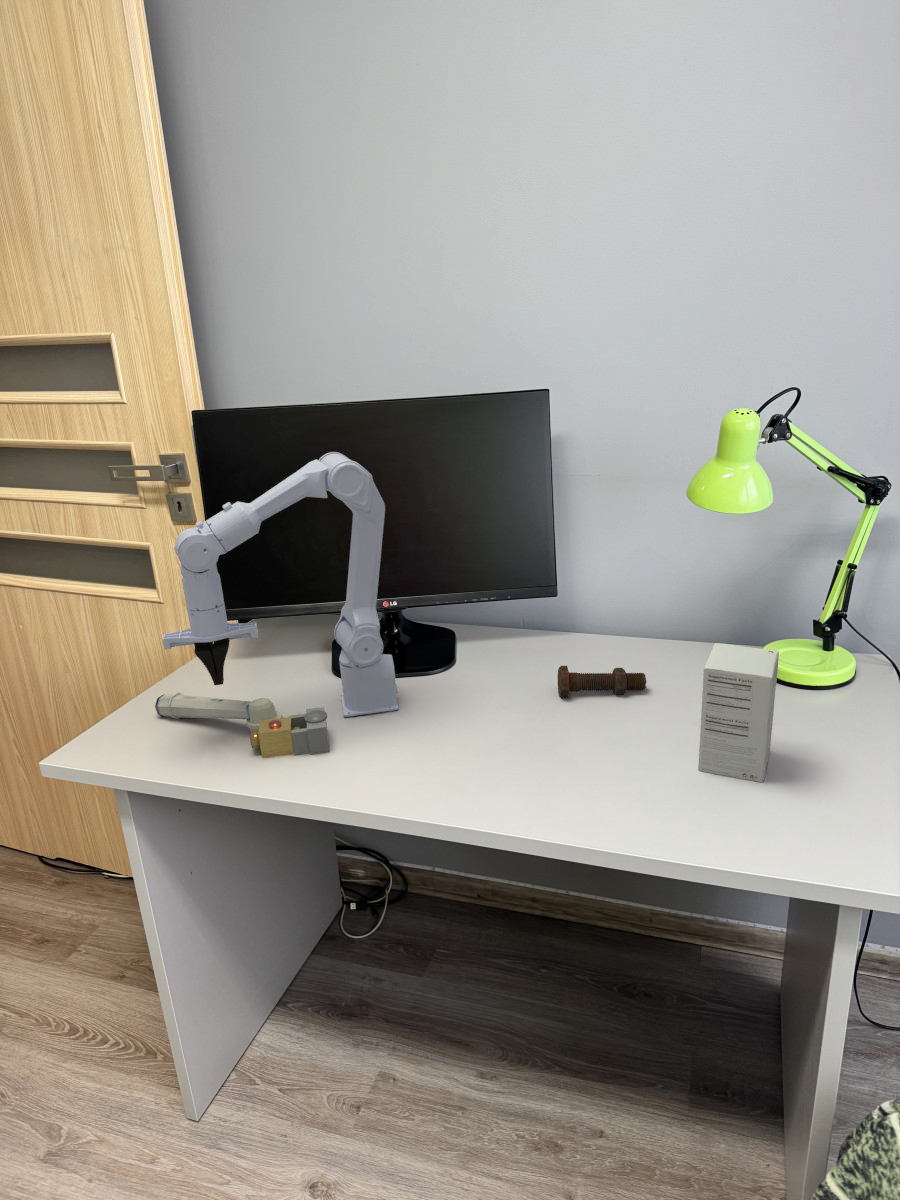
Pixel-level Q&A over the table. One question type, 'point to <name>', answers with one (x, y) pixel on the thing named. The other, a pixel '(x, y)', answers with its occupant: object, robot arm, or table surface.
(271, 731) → the valve
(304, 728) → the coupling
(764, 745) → the supplement box
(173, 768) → the table surface
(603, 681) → the bolt
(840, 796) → the table surface
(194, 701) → the toothbrush head
